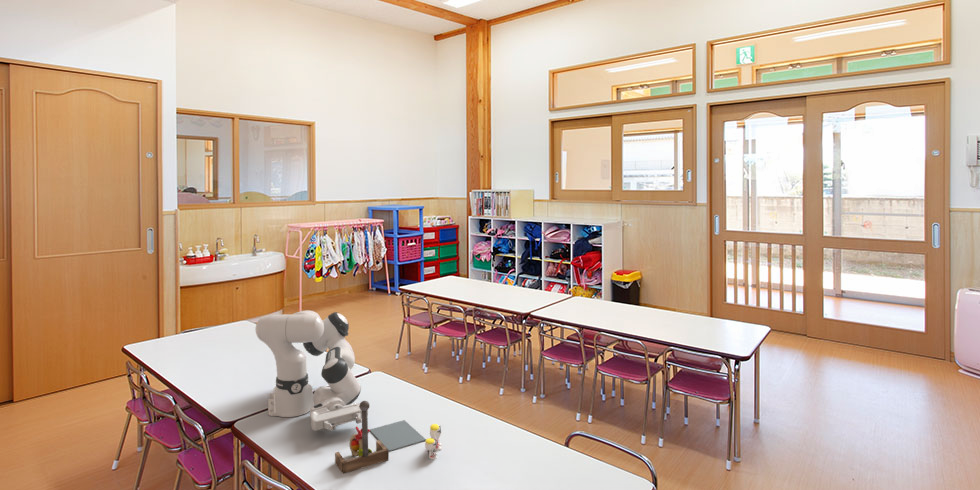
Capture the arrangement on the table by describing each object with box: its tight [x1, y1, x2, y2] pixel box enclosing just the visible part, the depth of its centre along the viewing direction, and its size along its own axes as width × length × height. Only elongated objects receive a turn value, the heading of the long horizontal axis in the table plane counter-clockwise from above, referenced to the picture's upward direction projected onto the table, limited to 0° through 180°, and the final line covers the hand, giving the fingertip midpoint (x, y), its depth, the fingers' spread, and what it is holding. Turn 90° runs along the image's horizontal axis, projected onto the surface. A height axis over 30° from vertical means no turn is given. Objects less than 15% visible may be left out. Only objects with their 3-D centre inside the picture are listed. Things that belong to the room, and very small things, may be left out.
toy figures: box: [424, 423, 442, 460], centre depth 182 cm, size 12×4×8 cm, turn 172°
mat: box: [369, 419, 427, 453], centre depth 193 cm, size 18×14×1 cm
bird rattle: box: [348, 426, 373, 457], centre depth 178 cm, size 6×11×9 cm
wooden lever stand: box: [334, 400, 389, 475], centre depth 174 cm, size 9×15×22 cm, turn 124°
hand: (346, 424), depth 188 cm, fingers open, 8 cm apart
